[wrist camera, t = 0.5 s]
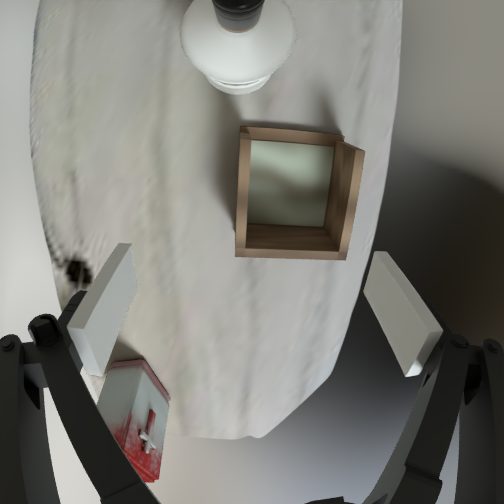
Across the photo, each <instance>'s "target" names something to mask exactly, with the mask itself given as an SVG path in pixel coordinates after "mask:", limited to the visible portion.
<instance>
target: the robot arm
mask: <svg viewBox="0 0 504 504" xmlns="http://www.w3.org/2000/svg"><path fill="white" fill-rule="evenodd" d="M137 288H138V282H137V276H136V270H135V263H134V257H133V250H132V244H126V243H118V245H117V246H116V248H115V249H114V251H113V252H112V254H111V255H110V257H109V258H108V260H107V261H106V263H105V264H104V266H103V267H102V269H101V271H100V272H99V274H98V275H97V277H96V278H95V280H94V282H93V283H92V285H91V286H90V288H89V290H88V291H82V290H80V291H79V292H77V293H76V294H75V295H74V296H72V298H71V299H70V301H69V303H68V305H67V306H66V307H65V309H64V311H63V312H62V314H61V316H60V317H59V319H58V320H57V319H56V318H55V316H53V315H51V314H42V315H39V316H37V317H35V318H34V319H33V320H32V321H31V322H30V323H29V325H28V331H29V333H30V336H31V338H32V339H33V342H27V343H22V342H21V341H20V339H19V337H18V336H17V335H14V334H12V335H11V334H10V335H6V336H4V337H2V338H1V339H0V504H61V503H60V499H59V495H58V491H57V487H56V482H55V478H54V472H53V467H52V462H51V456H50V449H49V443H48V436H47V427H46V418H45V406H44V392H43V388H46V387H49V390H50V393H51V395H52V398H53V401H54V403H55V406H56V408H57V411H58V413H59V416H60V418H61V421H62V423H63V425H64V428H65V430H66V432H67V434H68V437H69V439H70V441H71V443H72V445H73V447H74V449H75V451H76V453H77V455H78V457H79V459H80V461H81V463H82V465H83V467H84V469H85V471H86V473H87V474H88V476H89V478H90V480H91V481H92V483H93V485H94V487H95V489H96V490H97V492H98V494H99V496H100V498H101V499H100V501H101V504H161V503H160V502H159V501H158V500H157V498H156V497H155V496H154V494H153V493H152V492H151V490H150V489H149V488H148V486H147V485H146V483H145V482H144V481H143V479H142V478H141V477H140V475H139V474H138V472H137V471H136V469H135V468H134V467H133V465H132V464H131V462H130V461H129V459H128V458H127V456H126V455H125V453H124V452H123V450H122V448H121V447H120V445H119V444H118V442H117V440H116V439H115V437H114V436H113V434H112V432H111V431H110V429H109V427H108V425H107V424H106V422H105V420H104V418H103V417H102V415H101V413H100V411H99V409H98V408H97V406H96V404H95V402H94V400H93V398H92V397H91V394H90V392H89V391H88V388H87V386H86V384H85V382H84V380H83V378H82V376H81V374H80V371H81V369H82V366H83V367H84V369H85V371H86V373H87V374H89V375H95V376H101V377H103V374H104V371H105V368H106V366H107V363H108V360H109V358H110V355H111V352H112V350H113V347H114V344H115V342H116V339H117V337H118V334H119V332H120V329H121V327H122V324H123V322H124V319H125V317H126V314H127V312H128V309H129V307H130V305H131V302H132V300H133V298H134V295H135V293H136V291H137ZM364 294H365V296H366V298H367V300H368V302H369V303H370V305H371V307H372V309H373V311H374V313H375V315H376V317H377V319H378V321H379V323H380V325H381V327H382V329H383V331H384V333H385V335H386V336H387V339H388V341H389V343H390V345H391V347H392V349H393V351H394V353H395V355H396V357H397V360H398V362H399V364H400V366H401V368H402V370H403V372H404V374H405V377H408V376H413V375H419V373H420V372H421V370H422V368H423V367H424V366H425V368H426V370H427V373H426V375H425V376H424V378H423V379H422V381H421V383H420V384H419V386H418V387H419V388H420V390H419V393H418V395H417V398H416V400H415V403H414V406H413V408H412V411H411V413H410V416H409V418H408V420H407V423H406V425H405V427H404V430H403V432H402V434H401V436H400V438H399V441H398V443H397V445H396V447H395V449H394V451H393V453H392V455H391V457H390V459H389V461H388V463H387V465H386V467H385V469H384V471H383V473H382V475H381V476H380V478H379V480H378V482H377V484H376V486H375V487H374V489H373V490H372V492H371V493H370V495H369V496H368V497H367V498H366V500H365V501H364V502H363V503H362V504H435V503H436V501H437V499H438V496H439V494H440V491H441V488H442V480H440V479H439V476H440V472H441V470H442V467H443V464H444V461H445V458H446V455H447V452H448V449H449V446H450V442H451V439H452V435H453V431H454V428H455V425H456V421H457V416H458V413H460V414H459V419H460V429H459V431H460V432H459V435H460V436H459V459H458V473H457V484H456V493H455V501H454V504H504V350H503V348H502V346H501V345H500V344H499V342H497V341H496V340H493V339H490V338H488V339H485V340H484V341H483V343H482V344H481V346H476V345H470V343H469V341H468V340H467V339H466V338H465V337H464V336H462V335H460V334H456V333H452V331H451V330H450V328H449V327H448V326H447V324H446V323H445V321H444V320H443V318H442V317H441V316H440V314H439V312H438V311H436V308H435V307H434V305H433V304H432V303H431V302H430V301H429V300H427V299H426V298H425V297H420V296H419V295H418V293H417V292H416V290H415V289H414V288H413V286H412V285H411V283H410V282H409V281H408V279H407V278H406V277H405V275H404V274H403V273H402V271H401V270H400V269H399V267H398V266H397V265H396V264H395V262H394V261H393V260H392V258H391V257H390V256H389V254H388V253H387V252H378V251H377V252H374V256H373V260H372V264H371V268H370V271H369V274H368V278H367V282H366V285H365V288H364ZM306 504H354V503H349V502H344V499H343V496H342V497H336V498H330V499H323V500H316V501H311V502H309V503H306Z"/></svg>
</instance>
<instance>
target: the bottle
mask: <svg viewBox="0 0 504 504" xmlns="http://www.w3.org/2000/svg"><path fill="white" fill-rule="evenodd" d="M170 399H171V398H170V397H169V395H168V394H167V392H166V391H165V390H164V388H163V387H162V385H161V384H160V382H159V381H158V379H157V378H156V376H155V375H154V374H153V372H152V371H151V369H150V367H149V366H148V364H147V363H146V361H144V360H132V361H123V362H113V363H112V369H111V370H109V371H108V374H107V377H106V380H105V382H104V385H103V388H102V391H101V394H100V397H99V400H98V402H97V405H96V406H97V408H98V409H99V411H100V413H101V415H102V417H103V418H104V420H105V422H106V424H107V425H108V427H109V429H110V431H111V432H112V434H113V436H114V437H115V439H116V440H117V442H118V444H119V445H120V447H121V448H122V450H123V452H124V453H125V455H126V456H127V458H128V459H129V461H130V462H131V464H132V465H133V467H134V468H135V469H136V471H137V472H138V474H139V475H140V477H141V478H142V479H143V481H144V482H154V480H158V479H159V473H160V466H161V458H162V451H163V444H164V438H165V431H166V424H167V418H168V412H169V403H168V401H169V400H170Z"/></svg>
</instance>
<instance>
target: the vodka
mask: <svg viewBox="0 0 504 504" xmlns="http://www.w3.org/2000/svg"><path fill="white" fill-rule="evenodd" d="M180 40H181V45H182V48H183V51H184V53H185V55H186V57H187V58H188V59H189V61H190V62H191V63H192V64H193V66H194V67H196V68H197V69H198V70H200V71H201V72H202V73H204V74H205V76H206V78H207V79H208V81H209V82H210V83H211V84H212V85H213V86H214V87H215V88H217V89H218V90H220V91H222V92H225V93H228V94H233V95H242V94H248V93H251V92H254V91H256V90H257V89H259V88H260V87H262V86H263V85H264V84H265V83H266V82H267V81H268V79H269V78H270V76H271V75H272V73H273V72H274V71H275V70H277V69H278V68H279V67H280V66H281V65H282V64H283V63H284V62H285V61H286V60H287V58H288V57H289V55H290V54H291V52H292V50H293V47H294V44H295V41H296V24H295V19H294V17H293V14H292V12H291V10H290V8H289V7H288V5H287V4H286V3H285V2H284V1H283V0H194V1H193V2H192V3H191V5H190V6H189V7H188V9H187V11H186V12H185V14H184V17H183V19H182V22H181V26H180Z"/></svg>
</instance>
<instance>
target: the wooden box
mask: <svg viewBox="0 0 504 504" xmlns="http://www.w3.org/2000/svg"><path fill="white" fill-rule="evenodd" d="M344 137H345V136H343V135H336V134H328V133H320V132H311V131H302V130H291V129H280V128H266V127H249V126H240V145H239V164H238V184H237V206H236V229H235V257H255V258H286V259H317V260H346V257H347V252H348V247H349V242H350V238H351V233H352V227H353V222H354V217H355V212H356V206H357V200H358V195H359V189H360V182H361V176H362V170H363V163H364V156H365V151H364V150H362V149H359V148H357V147H355V146H353V145H350V144H348V143H346V142H344Z"/></svg>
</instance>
